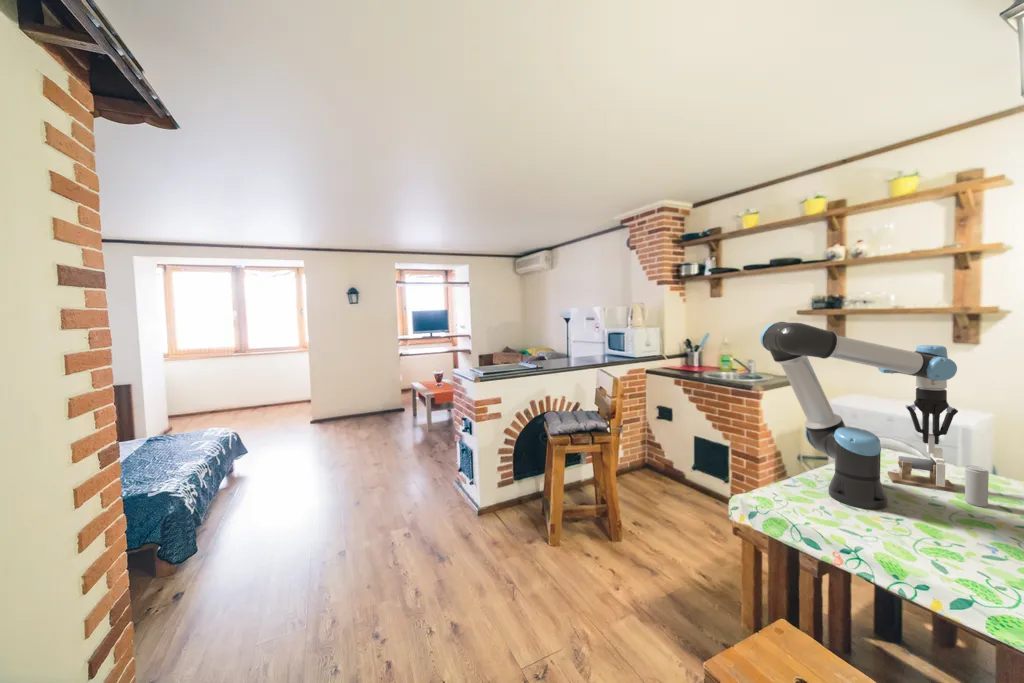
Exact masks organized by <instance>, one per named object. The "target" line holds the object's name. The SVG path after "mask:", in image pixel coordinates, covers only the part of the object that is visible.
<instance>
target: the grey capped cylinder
mask: <svg viewBox="0 0 1024 683" xmlns="http://www.w3.org/2000/svg"><path fill="white" fill-rule="evenodd" d="M902 461H906V462H911V463H912V470H919V471H920V470H921V471H928V472H930V471H933V465H936V462H935V461H934V460H930V459H928V458H927V459H926V458H920V457H911V456H902V455H898V458H897V464H898V468H899V467H902Z"/></svg>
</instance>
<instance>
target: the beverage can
mask: <svg viewBox="0 0 1024 683" xmlns="http://www.w3.org/2000/svg"><path fill="white" fill-rule="evenodd" d="M964 472H965V473H964V475H965V476H964V477H965V478H964V480H965V481H964V501H965V502H966V503H967V504H969V505H970V506H974V507H980V508H985V507H988V505H989V475H990V474H989V470H988V469H987V468H985V467H982V466H978V465H971V464H970V465H969V464H968V465H966V466H965V470H964Z"/></svg>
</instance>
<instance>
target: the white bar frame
mask: <svg viewBox="0 0 1024 683" xmlns="http://www.w3.org/2000/svg"><path fill="white" fill-rule="evenodd" d="M929 460H934V461H935V462H936V486H941V487H945V480H946V464H945V462H946V461H945V459H944V457H943V449H942V448H940V447H935V454H931V453H930V456H929Z"/></svg>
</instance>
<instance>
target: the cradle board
mask: <svg viewBox="0 0 1024 683" xmlns="http://www.w3.org/2000/svg"><path fill="white" fill-rule="evenodd" d="M912 470H913V469H912V463H911V462H906V461H902V467H899V466H898V472H894V471H887V475H888V477H889V479H890V480H891V482H892V483H893V484H899V485H906V486H913V487H918V488H919V487H920V488H925V489H933V490H940V491H945V492H953V493H957V492H958V490H957V488H956V487H955V485H953V484H952V482H951V481H950V480H949V479H945V487H941V486H936V465H933V471H929V476H922V475H915V474H912Z"/></svg>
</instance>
